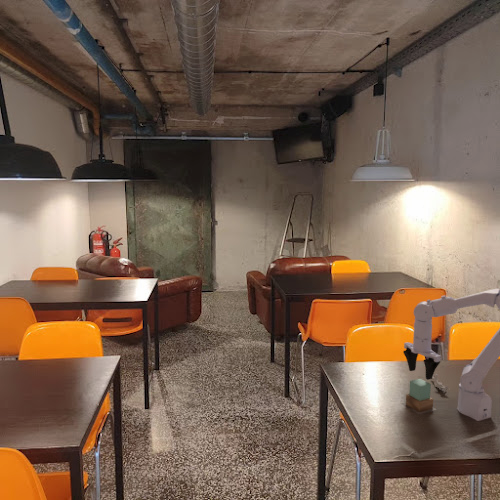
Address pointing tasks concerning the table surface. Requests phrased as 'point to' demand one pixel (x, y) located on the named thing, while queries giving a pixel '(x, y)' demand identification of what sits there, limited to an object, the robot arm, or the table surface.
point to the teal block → (420, 389)
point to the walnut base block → (419, 403)
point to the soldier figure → (439, 384)
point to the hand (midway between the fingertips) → (420, 374)
